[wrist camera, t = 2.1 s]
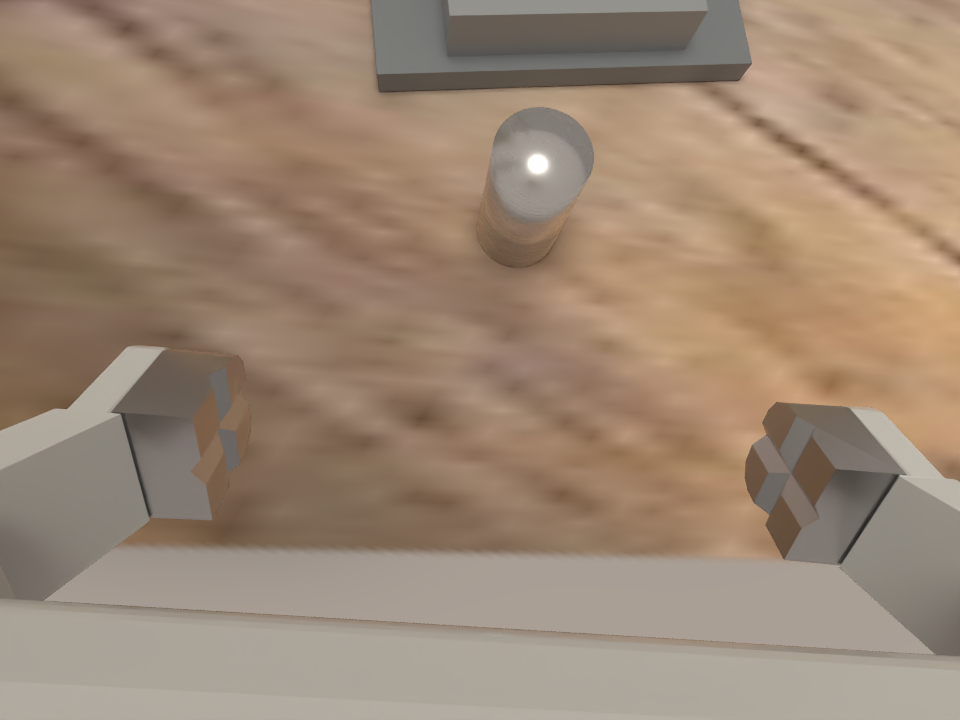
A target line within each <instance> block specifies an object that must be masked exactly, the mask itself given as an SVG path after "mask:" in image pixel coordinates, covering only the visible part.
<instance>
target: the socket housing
mask: <svg viewBox="0 0 960 720" xmlns="http://www.w3.org/2000/svg"><path fill="white" fill-rule="evenodd" d="M371 3H372V16H373V29H374V42H375V55H376V68H377V79H378V88H379V92H387V91H418V90H449V89H480V88H510V87H541V86H572V85H603V84H634V83H665V82H695V81H726V80H740V78H741V77H742V76H743V74H744V73H745V72H746V70H747V69H748V68H749V67H750V65H751V64H752V61H751V56H750V52H749V47H748V42H747V38H746V33H745V29H744V24H743V19H742V15H741V10H740V6H739V1H738V0H371Z"/></svg>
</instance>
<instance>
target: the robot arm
mask: <svg viewBox="0 0 960 720" xmlns="http://www.w3.org/2000/svg"><path fill="white" fill-rule="evenodd" d="M245 382H246V375H245V368H244V362H243V360H242V359H241V358H240V357H239V356H238V355H231V354H222V353H212V352H203V351H193V350H184V349H174V348H170V349H168V348H166V347H153V346H140V345H135V346H130V347H127V348H126V349H125V350H124V351H123V352H122V353H121V354H120V355H119V356H118V357H117V358H116V359H115V360H114V361H113V362H112V363H111V364H110V365H109V366H108V367H107V368H106V369H105V370H104V371H103V373H102V374H101V375H100V376H99V377H98V378H97V379H96V380H95V381H94V382H93V383H92V384H91V385H90V386H89V387H88V388H87V389H86V390H85V391H84V392H83V393H82V394H81V395H80V396H79V397H78V399H77V400H76V401H75V402H74V403H73V404H72V405H71V406H70V407H69V408H68V409H53V410H50V411H48V412H46V413H43V414H41V415H38V416H36V417H33V418H31V419H28V420H26V421H23V422H21V423H18V424H16V425H13V426H11V427H8V428H6V429H3V430H1V431H0V720H960V482H959V481H957V480H954V479H945V478H944V477H943V476H942V475H941V474H940V473H939V472H938V471H937V470H936V469H935V468H934V466H933V465H932V464H931V463H930V462H929V461H928V460H927V459H926V458H925V457H924V456H923V455H922V454H921V453H920V452H919V451H918V449H917V448H916V447H915V446H914V445H913V444H912V443H911V442H910V441H909V440H908V439H907V438H906V437H905V436H904V435H903V434H902V432H901V431H900V430H899V429H898V428H897V427H896V426H895V425H894V424H893V423H892V422H891V421H890V420H889V419H888V418H887V417H886V415H885V414H884V413H883V412H881V411H879V410H876V409H874V408H872V407H853V406H826V405H812V404H797V403H782V402H776V403H775V404H774V405H773V406H772V407H771V408H770V409H769V410H768V412H767V414H766V416H765V418H764V420H763V422H762V423H763V426H764V429H765V431H766V434H767V435H765V436H764V437H762V438H761V439H760V440H758V441H757V442H755V443H754V444H753V445H752V447H751V449H750V452H749V454H748V457H747V459H746V464H745V481H746V485H747V490H748V492H749V494H750V496H751V498H752V500H753V502H754V503H755V504H756V505H757V506H759V507H760V508H761V509H763V510H764V511H765V512H767V513H768V514H769V517H768V519H767V522H766V527H767V529H768V531H769V533H770V534H771V536H772V538H773V540H774V542H775V544H776V546H777V548H778V549H779V551H780V553H781V555H782V557H783V559H784V560H790V561H800V562H811V563H821V564H831V565H841V566H840V567H839V568H840V569H841V570H842V571H843V572H844V573H845V574H847V575H848V576H849V577H850V578H851V579H852V580H853V581H854V582H855V583H857V584H858V585H859V586H860V587H861V588H862V589H863V590H864V591H865V592H867V593H868V594H869V595H870V596H871V597H872V598H873V599H874V600H875V601H877V602H878V603H879V604H880V605H881V606H882V607H883V608H884V609H885V610H887V611H888V612H889V613H890V614H891V615H892V616H893V617H894V618H895V619H897V620H898V621H899V622H900V623H901V624H902V625H903V626H904V627H906V628H907V629H908V630H909V631H910V632H911V633H912V634H913V635H914V636H915V637H917V638H918V639H919V640H920V641H921V642H922V643H923V644H924V645H925V646H927V647H928V648H929V649H930V650H931V651H932V652H933V653H934V654H936V655H930V654H914V653H895V652H880V651H879V652H878V651H863V650H846V649H831V648H815V647H799V646H782V645H766V644H750V643H734V642H717V641H701V640H685V639H669V638H652V637H636V636H635V637H634V636H618V635H602V634H585V633H569V632H552V631H535V630H519V629H502V628H486V627H470V626H453V625H436V624H420V623H403V622H385V621H370V620H353V619H352V620H351V619H336V618H320V617H304V616H287V615H270V614H254V613H237V612H221V611H205V610H188V609H171V608H155V607H138V606H122V605H105V604H89V603H72V602H56V601H43V600H45V599H46V598H47V597H49V596H50V595H51V594H53V593H54V592H55V591H57V590H58V589H59V588H61V587H62V586H63V585H65V584H66V583H67V582H69V581H70V580H71V579H73V578H74V577H75V576H77V575H78V574H79V573H81V572H82V571H83V570H85V569H86V568H87V567H89V566H90V565H91V564H93V563H94V562H95V561H97V560H98V559H99V558H101V557H102V556H103V555H105V554H106V553H107V552H109V551H110V550H111V549H113V548H114V547H115V546H117V545H118V544H119V543H121V542H122V541H123V540H125V539H126V538H127V537H129V536H130V535H131V534H133V533H134V532H135V531H137V530H138V529H139V528H141V527H142V526H143V525H145V524H146V523H148V522H149V521H150V519H149V518H170V519H194V520H213V518H214V516H215V514H216V512H217V510H218V508H219V506H220V504H221V502H222V500H223V498H224V496H225V494H226V492H227V490H228V488H229V480H228V473H227V472H229V471H230V470H232V469H233V468H235V467H237V466H238V465H240V463H241V461H242V459H243V457H244V455H245V452H246V450H247V446H248V441H249V437H250V432H251V413H250V404H249V403H248V402H247V401H246V400H245V399H244V398H243V397H242V396H241V394H240V393H239V392H240V390H241V389H242V387H243V385H244V383H245Z"/></svg>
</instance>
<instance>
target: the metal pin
mask: <svg viewBox="0 0 960 720" xmlns="http://www.w3.org/2000/svg"><path fill="white" fill-rule="evenodd" d="M593 163H594V153H593V147H592V143H591V141H590V138H589V136H588V135H587V133H586V131H585V130H584V129H583V127H582V126H581V125H580V124H579V123H578V122H577V121H576V120H574V119H573V118H572V117H570V116H569V115H567V114H565V113H563V112H560V111H558V110H555V109H551V108H543V107H536V108H529V109H525V110H522V111H519V112H517V113H515V114H513V115H512V116H510V117H509V118H508V119H507V120H506V121H505V122H504V123H503V124H502V125H501V126H500V128H499V130H498V131H497V133H496V136H495V139H494V143H493V148H492V153H491V158H490V163H489V168H488V173H487V178H486V183H485V188H484V193H483V198H482V203H481V208H480V213H479V218H478V223H477V235H478V239H479V242H480V244H481V246H482V248H483V250H484V251H485V252H486V253H487V255H488V256H489V257H491V258H492V259H493V260H495V261H496V262H498V263H500V264H502V265H505V266H508V267H514V268H522V267H527V266H531V265H533V264H536V263H537V262H539V261H541V260H542V259H543V258H544V257H545V256H546V255H547V254H548V252H549V251H550V249H551V247H552V246H553V244H554V242H555V240H556V238H557V236H558V234H559V232H560V230H561V229H562V227H563V225H564V223H565V221H566V219H567V217H568V215H569V213H570V212H571V210H572V208H573V206H574V204H575V202H576V200H577V198H578V196H579V195H580V193H581V191H582V189H583V187H584V185H585V183H586V181H587V179H588V178H589V176H590V174H591V171H592V168H593Z"/></svg>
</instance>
